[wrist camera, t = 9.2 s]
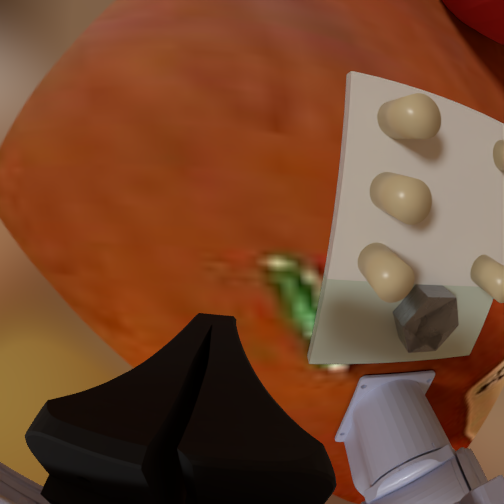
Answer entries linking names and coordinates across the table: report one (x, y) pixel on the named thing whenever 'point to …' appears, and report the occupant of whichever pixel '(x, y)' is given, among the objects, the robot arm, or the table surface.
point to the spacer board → (430, 164)
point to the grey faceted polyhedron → (426, 318)
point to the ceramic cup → (481, 16)
